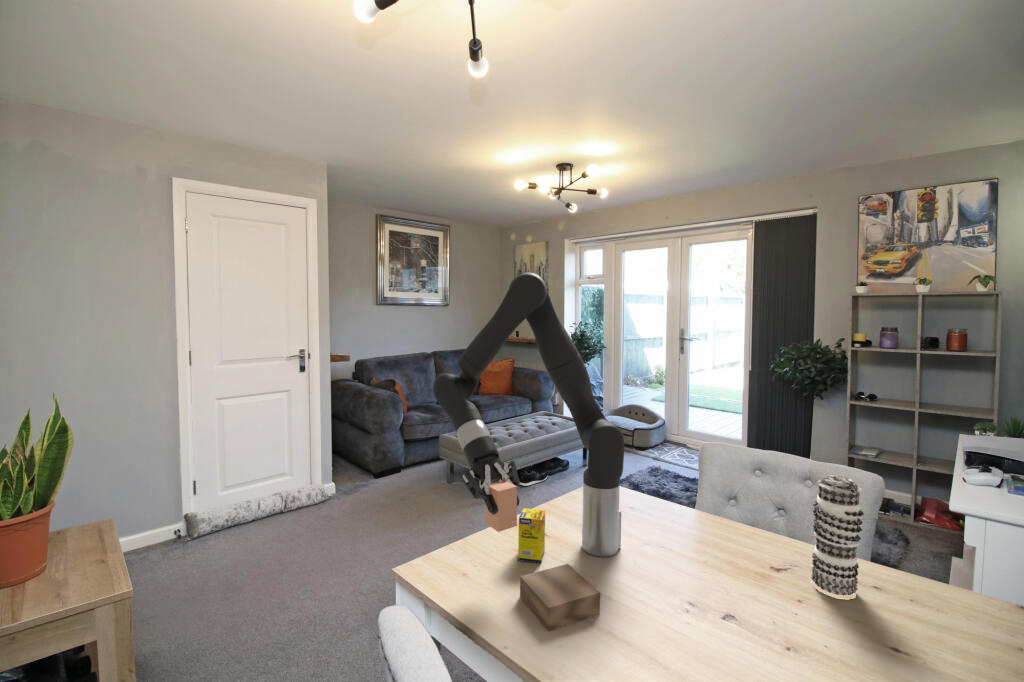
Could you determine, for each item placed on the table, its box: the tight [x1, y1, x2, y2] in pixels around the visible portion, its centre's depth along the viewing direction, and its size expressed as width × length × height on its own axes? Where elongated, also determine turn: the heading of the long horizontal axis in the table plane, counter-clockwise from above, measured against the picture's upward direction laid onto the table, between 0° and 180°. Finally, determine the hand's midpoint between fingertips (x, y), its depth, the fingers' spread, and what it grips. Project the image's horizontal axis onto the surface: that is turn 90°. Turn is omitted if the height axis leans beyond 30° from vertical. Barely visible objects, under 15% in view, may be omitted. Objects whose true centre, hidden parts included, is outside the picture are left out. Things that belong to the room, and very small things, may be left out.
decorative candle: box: [810, 475, 865, 596], centre depth 106 cm, size 9×9×25 cm
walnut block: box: [519, 563, 601, 632], centre depth 99 cm, size 12×12×5 cm
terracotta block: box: [485, 481, 518, 533], centre depth 107 cm, size 5×5×9 cm
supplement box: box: [517, 508, 546, 564], centre depth 119 cm, size 6×6×11 cm
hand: (506, 509), depth 105 cm, fingers closed on terracotta block, 5 cm apart
